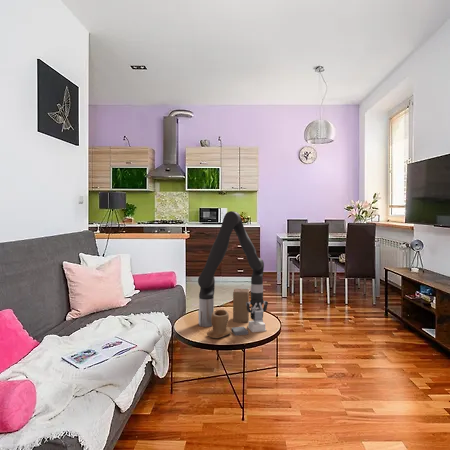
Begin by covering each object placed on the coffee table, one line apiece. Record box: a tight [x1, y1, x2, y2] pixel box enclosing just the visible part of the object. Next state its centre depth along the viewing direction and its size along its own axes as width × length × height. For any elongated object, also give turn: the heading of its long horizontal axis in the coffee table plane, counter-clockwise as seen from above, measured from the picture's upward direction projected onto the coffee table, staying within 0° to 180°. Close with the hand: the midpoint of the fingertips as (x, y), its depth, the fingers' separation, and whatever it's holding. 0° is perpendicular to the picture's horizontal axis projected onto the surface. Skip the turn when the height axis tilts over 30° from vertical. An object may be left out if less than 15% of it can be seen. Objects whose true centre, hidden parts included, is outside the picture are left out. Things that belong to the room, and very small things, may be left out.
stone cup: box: [206, 309, 233, 339], centre depth 202 cm, size 15×12×15 cm
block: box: [232, 288, 250, 323], centre depth 231 cm, size 10×10×20 cm
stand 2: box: [246, 320, 267, 333], centre depth 214 cm, size 9×9×4 cm
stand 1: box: [230, 326, 249, 336], centre depth 208 cm, size 8×8×2 cm
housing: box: [250, 307, 264, 323], centre depth 213 cm, size 5×8×7 cm, turn 15°
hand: (256, 318), depth 213 cm, fingers closed on housing, 5 cm apart
